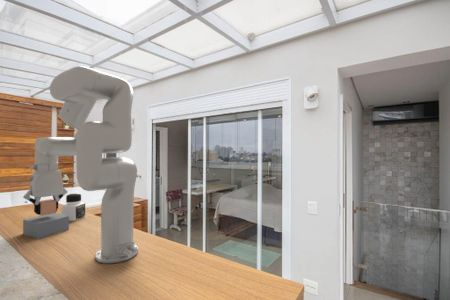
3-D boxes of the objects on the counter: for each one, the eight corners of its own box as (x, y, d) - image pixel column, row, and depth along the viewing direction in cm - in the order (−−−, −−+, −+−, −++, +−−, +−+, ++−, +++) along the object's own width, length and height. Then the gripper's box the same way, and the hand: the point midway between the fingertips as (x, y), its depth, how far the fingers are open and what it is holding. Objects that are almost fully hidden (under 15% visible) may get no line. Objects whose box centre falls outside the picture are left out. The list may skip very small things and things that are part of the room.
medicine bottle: (76, 221, 108) (76, 195, 108) (61, 221, 108) (61, 195, 108) (85, 216, 115) (85, 192, 115) (71, 216, 115) (71, 192, 115)
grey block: (68, 230, 97) (68, 216, 97) (38, 239, 87) (38, 223, 87) (53, 226, 102) (53, 212, 102) (23, 234, 92) (23, 219, 92)
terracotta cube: (56, 212, 95) (56, 200, 95) (41, 215, 91) (41, 203, 91) (51, 210, 98) (51, 199, 98) (36, 213, 94) (36, 201, 94)
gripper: (22, 170, 85) (22, 219, 85) (74, 167, 99) (73, 209, 99) (16, 168, 89) (16, 215, 89) (66, 166, 103) (66, 206, 103)
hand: (46, 211), depth 94 cm, fingers closed on terracotta cube, 4 cm apart
